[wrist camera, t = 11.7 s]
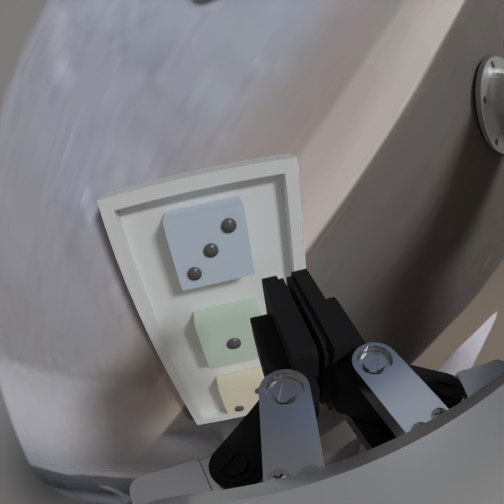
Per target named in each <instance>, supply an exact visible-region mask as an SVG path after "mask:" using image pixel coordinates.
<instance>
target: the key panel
mask: <svg viewBox="0 0 504 504" xmlns="http://www.w3.org/2000/svg"><path fill="white" fill-rule="evenodd" d="M237 196H239V197H240V199H241V201H242V202H243V204H244V209H245V215H246V221H247V228H248V234H249V240H250V247H251V253H252V259H253V265H254V272H255V274H254V275H250V276H246V277H241V278H237V279H233V280H228V281H224V282H219V283H215V284H211V285H206V286H202V287H197V288H193V289H188V290H182V287H181V284H180V281H179V278H178V274H177V271H176V268H175V265H174V261H173V258H172V255H171V251H170V248H169V244H168V241H167V237H166V234H165V230H164V226H163V223H162V222H163V217H164V212H168V211H173V210H177V209H181V208H186V207H190V206H195V205H199V204H204V203H208V202H213V201H218V200H222V199H227V198H232V197H237ZM97 203H98V206H99V209H100V213H101V216H102V219H103V222H104V225H105V228H106V231H107V234H108V237H109V240H110V243H111V246H112V248H113V251H114V254H115V257H116V259H117V262H118V265H119V267H120V270H121V272H122V275H123V277H124V280H125V282H126V285H127V287H128V290H129V292H130V295H131V297H132V299H133V302H134V304H135V306H136V309H137V311H138V313H139V315H140V318H141V320H142V322H143V324H144V326H145V328H146V331H147V333H148V335H149V337H150V339H151V341H152V343H153V345H154V347H155V349H156V351H157V353H158V355H159V357H160V359H161V361H162V363H163V365H164V367H165V369H166V371H167V373H168V375H169V376H170V378H171V380H172V382H173V384H174V386H175V387H176V389H177V391H178V393H179V395H180V396H181V398H182V400H183V402H184V403H185V405H186V407H187V408H188V410H189V412H190V413H191V415H192V417H193V418H194V420H195V422H196V423H197V425H200V424H206V423H211V422H217V421H222V420H227V419H232V418H237V417H241V416H246V415H247V414H248V413H245V414H240V415H236V416H231V417H229V415H228V412H227V410H226V408H225V405H224V403H223V400H222V398H221V395H220V393H219V389H218V384H217V378H216V377H217V376H222V375H226V374H231V373H235V372H240V371H244V370H248V369H252V368H256V367H260V366H261V364H260V360H259V358H258V359H254V360H250V361H246V362H242V363H238V364H233V365H229V366H224V367H220V368H215V369H210V367H209V365H208V362H207V359H206V357H205V354H204V351H203V349H202V346H201V343H200V340H199V338H198V335H197V332H196V329H195V324H194V312H195V311H200V310H204V309H209V308H214V307H218V306H222V305H227V304H231V303H236V302H240V301H244V300H248V299H253V298H256V300H257V303H258V306H259V308H260V311H261V315H265V314H267V312H266V305H265V299H264V293H263V286H262V279H263V278H268V277H272V276H277V278H278V279H281V278H283V279H284V281H285V283H286V285H287V277H289V276H291V272H293V271H298V270H302V269H306V261H305V244H304V229H303V215H302V202H301V191H300V179H299V169H298V159H297V157H296V156H293V155H291V154H289V153H286V154H279V155H273V156H266V157H260V158H254V159H248V160H243V161H237V162H232V163H227V164H221V165H216V166H211V167H207V168H202V169H197V170H193V171H188V172H184V173H179V174H175V175H171V176H166V177H162V178H158V179H154V180H150V181H146V182H143V183H139V184H135V185H131V186H128V187H124V188H120V189H117V190H113V191H110V192H107V193H104V194H103V195H102V196H101V197H100V198H99V199H98V200H97Z"/></svg>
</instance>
